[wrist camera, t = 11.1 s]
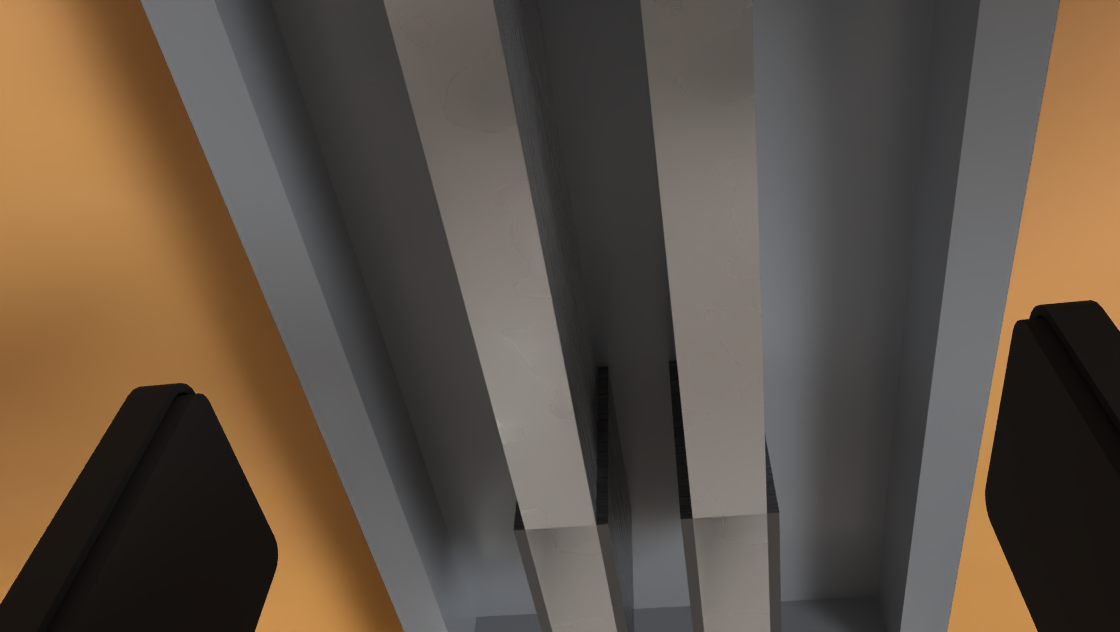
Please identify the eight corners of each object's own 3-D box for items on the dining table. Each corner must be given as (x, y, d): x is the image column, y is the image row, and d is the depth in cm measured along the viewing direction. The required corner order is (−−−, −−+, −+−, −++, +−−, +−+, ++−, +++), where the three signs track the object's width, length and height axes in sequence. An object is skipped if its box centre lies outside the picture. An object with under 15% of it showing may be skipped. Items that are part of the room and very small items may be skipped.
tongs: (699, -946, 9) (751, -1238, 6) (755, 503, 21) (782, 664, 18) (255, -830, 9) (74, -1040, 6) (562, 516, 22) (553, 675, 18)
